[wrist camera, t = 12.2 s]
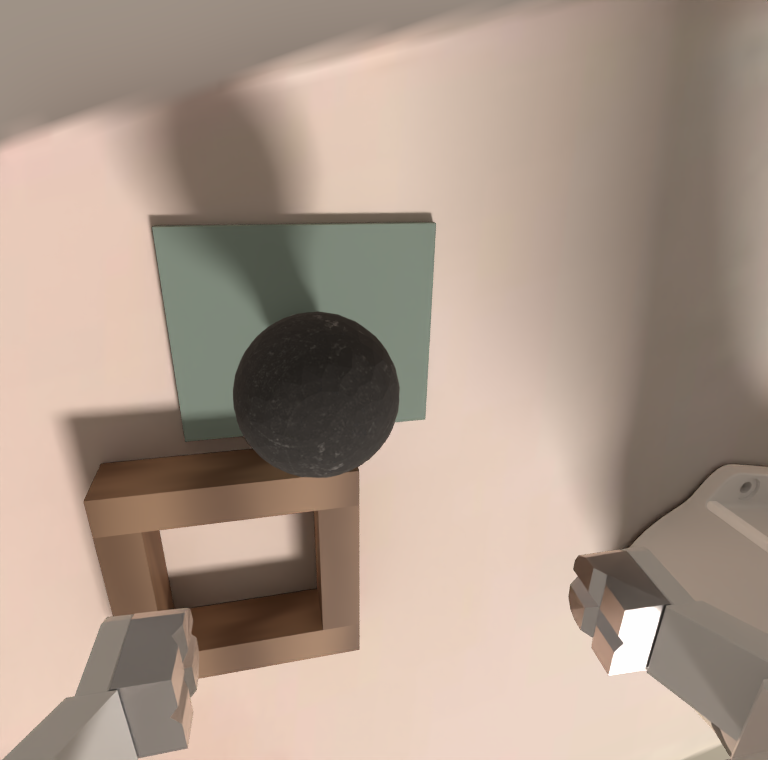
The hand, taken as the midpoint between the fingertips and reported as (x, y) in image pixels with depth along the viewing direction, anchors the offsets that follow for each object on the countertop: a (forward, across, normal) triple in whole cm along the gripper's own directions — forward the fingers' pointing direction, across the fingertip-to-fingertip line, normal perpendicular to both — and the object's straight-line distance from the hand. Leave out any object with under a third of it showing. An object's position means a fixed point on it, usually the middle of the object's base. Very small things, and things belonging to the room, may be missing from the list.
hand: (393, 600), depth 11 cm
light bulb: (+16, +1, 0) cm, 16 cm away
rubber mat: (+16, +1, 0) cm, 16 cm away
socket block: (+16, +5, +12) cm, 20 cm away
